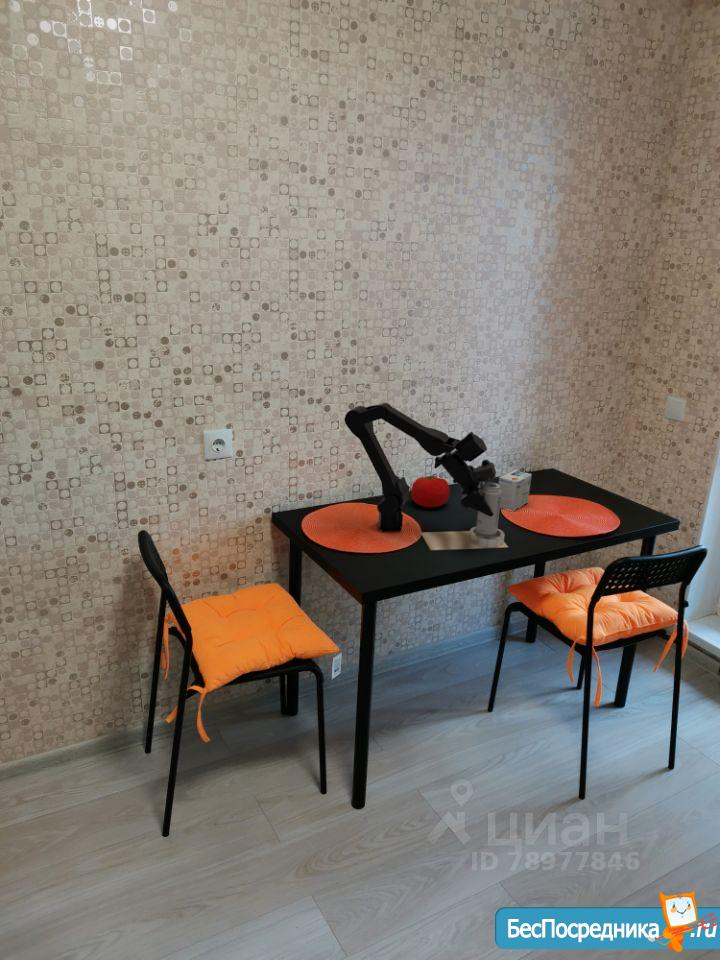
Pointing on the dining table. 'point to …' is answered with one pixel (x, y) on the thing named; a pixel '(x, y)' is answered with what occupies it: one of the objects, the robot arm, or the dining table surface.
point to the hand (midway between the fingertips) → (493, 511)
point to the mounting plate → (451, 540)
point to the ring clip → (486, 539)
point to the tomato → (430, 491)
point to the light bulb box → (514, 489)
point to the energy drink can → (493, 498)
